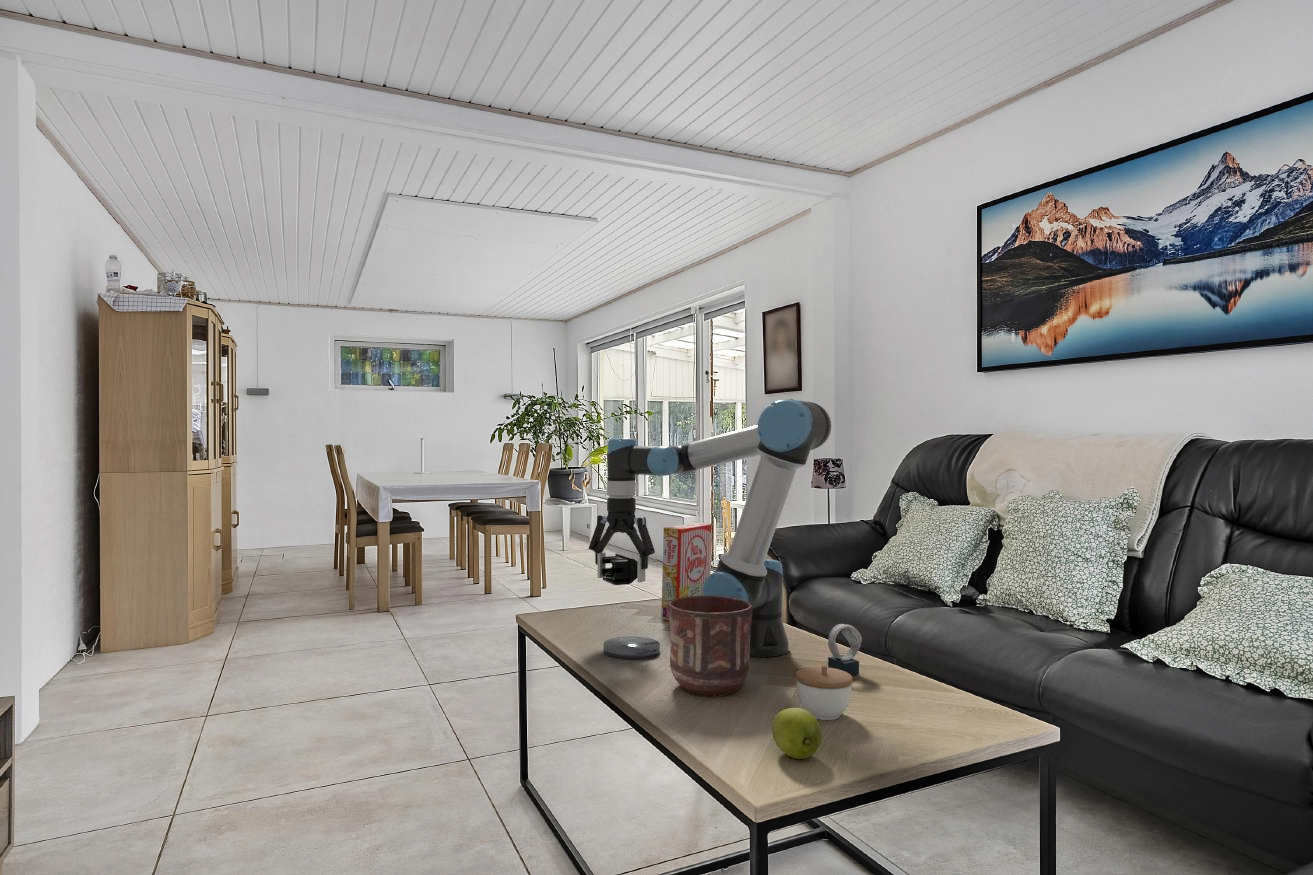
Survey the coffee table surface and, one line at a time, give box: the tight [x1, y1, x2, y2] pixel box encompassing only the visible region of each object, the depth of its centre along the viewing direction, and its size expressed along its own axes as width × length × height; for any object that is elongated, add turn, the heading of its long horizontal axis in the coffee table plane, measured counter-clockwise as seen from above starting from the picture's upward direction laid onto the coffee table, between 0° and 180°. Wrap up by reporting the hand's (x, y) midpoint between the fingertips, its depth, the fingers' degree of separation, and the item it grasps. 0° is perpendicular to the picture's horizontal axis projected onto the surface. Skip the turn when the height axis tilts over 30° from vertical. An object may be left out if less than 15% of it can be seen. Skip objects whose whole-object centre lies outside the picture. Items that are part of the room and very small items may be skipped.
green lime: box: [771, 707, 823, 760], centre depth 130 cm, size 8×9×8 cm
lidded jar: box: [795, 665, 853, 721], centre depth 150 cm, size 11×11×9 cm
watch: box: [827, 623, 863, 677], centre depth 177 cm, size 6×8×11 cm
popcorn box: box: [660, 522, 712, 621], centre depth 234 cm, size 20×6×27 cm, turn 149°
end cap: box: [602, 553, 638, 586], centre depth 203 cm, size 10×7×7 cm
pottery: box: [668, 596, 752, 697], centre depth 165 cm, size 18×18×18 cm
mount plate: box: [602, 636, 661, 661], centre depth 192 cm, size 14×14×2 cm
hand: (621, 579), depth 203 cm, fingers closed on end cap, 12 cm apart
